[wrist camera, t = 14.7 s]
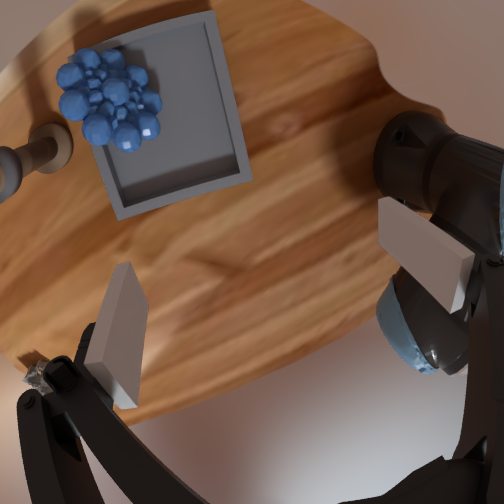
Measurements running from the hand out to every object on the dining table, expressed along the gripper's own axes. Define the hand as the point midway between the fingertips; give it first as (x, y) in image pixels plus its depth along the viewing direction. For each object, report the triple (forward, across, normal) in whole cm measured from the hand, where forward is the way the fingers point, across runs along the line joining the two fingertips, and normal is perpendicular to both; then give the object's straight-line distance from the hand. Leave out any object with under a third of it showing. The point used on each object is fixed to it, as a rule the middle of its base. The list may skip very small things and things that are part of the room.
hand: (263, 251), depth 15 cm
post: (+22, +20, -8) cm, 31 cm away
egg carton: (+23, +42, +29) cm, 56 cm away
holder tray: (+23, +6, -8) cm, 24 cm away
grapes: (+21, +6, -8) cm, 23 cm away
